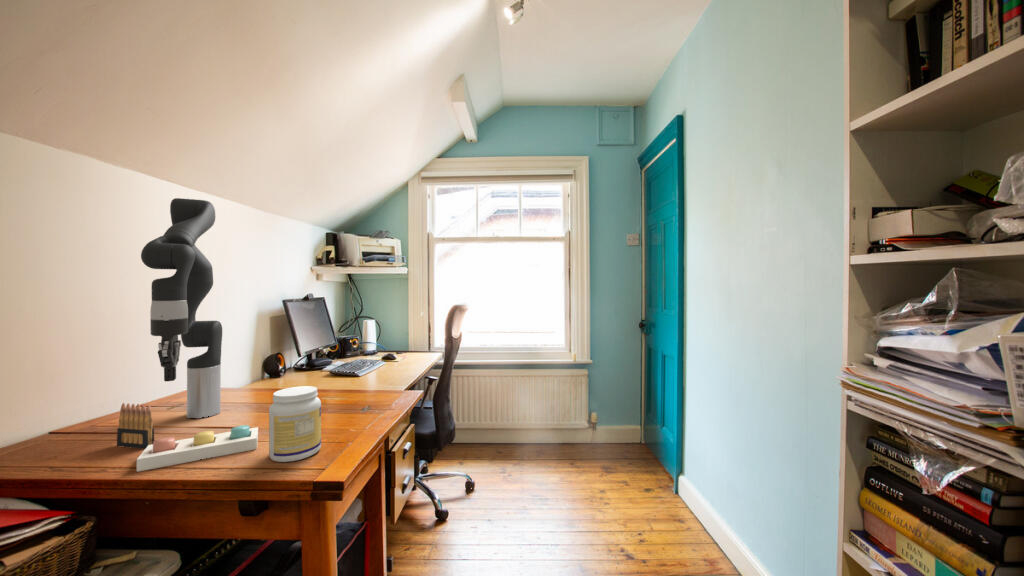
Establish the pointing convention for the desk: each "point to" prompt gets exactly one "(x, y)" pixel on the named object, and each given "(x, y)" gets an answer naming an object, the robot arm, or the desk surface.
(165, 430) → the desk surface
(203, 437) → the ochre button
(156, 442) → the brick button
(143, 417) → the ammunition clip
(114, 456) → the desk surface
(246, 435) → the teal button
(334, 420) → the desk surface
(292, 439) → the supplement tub
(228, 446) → the panel
